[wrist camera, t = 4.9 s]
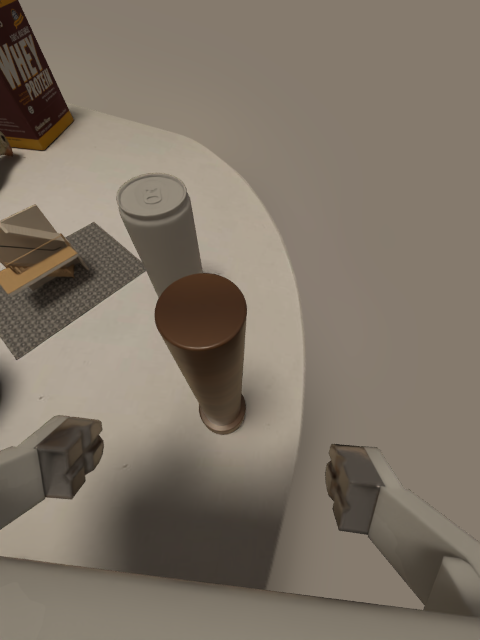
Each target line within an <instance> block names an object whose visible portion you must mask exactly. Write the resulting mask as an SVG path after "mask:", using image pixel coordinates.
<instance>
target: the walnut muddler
mask: <svg viewBox="0 0 480 640" xmlns="http://www.w3.org/2000/svg"><path fill="white" fill-rule="evenodd" d="M246 316H247V305H246V301H245V298H244V296H243V294H242V292H241V291H240V290H239V288H238V287H237V286H236V285H235V284H234V283H233V282H231V281H230V280H228V279H226V278H224V277H222V276H219V275H216V274H210V273H197V274H192V275H188V276H185V277H182V278H180V279H178V280H176V281H175V282H173V283H172V284H170V285H169V286H168V287H167V288H166V289H165V290H164V291H163V293H162V294H161V296H160V297H159V299H158V301H157V304H156V308H155V323H156V326H157V329H158V331H159V332H160V334H161V336H162V338H163V340H164V341H165V343H166V345H167V347H168V349H169V350H170V352H171V354H172V356H173V358H174V359H175V361H176V363H177V365H178V367H179V368H180V370H181V372H182V374H183V376H184V377H185V379H186V381H187V383H188V385H189V386H190V388H191V390H192V392H193V393H194V395H195V397H196V399H197V401H198V402H199V413H200V417H201V419H202V421H203V423H204V424H205V425H206V427H207V428H208V429H209V430H210V431H212V432H214V433H216V434H220V435H225V434H229V433H232V432H234V431H235V430H237V429H238V428H239V427H240V425H241V424H242V422H243V420H244V416H245V410H246V404H245V400H244V397H243V395H242V393H241V391H242V376H243V361H244V346H245V331H246Z"/></svg>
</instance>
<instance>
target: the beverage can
mask: <svg viewBox="0 0 480 640" xmlns="http://www.w3.org/2000/svg"><path fill="white" fill-rule="evenodd" d="M116 200H117V203H118V206H119V212H120V215H121V218H122V220H123V222H124V224H125V227H126V229H127V231H128V233H129V235H130V237H131V240H132V242H133V244H134V246H135V248H136V250H137V252H138V254H139V256H140V258H141V261H142V263H143V265H144V267H145V269H146V271H147V273H148V275H149V278H150V280H151V282H152V284H153V286H154V289H155V291H156V293H157V295H158V297H160V296H161V294H162V293H163V291H164V290H165V289H166V288H167V287H168V286H169V285H170V284H172V283H173V282H175V281H176V280H178V279H180V278H182V277H185V276H188V275H192V274H197V273H203V271H202V265H201V259H200V253H199V247H198V242H197V236H196V230H195V224H194V218H193V212H192V207H191V201H190V197H189V195H188V193H187V190H186V187H185V185H184V183H183V182H182V181H181V180H180V179H179V178H177V177H175V176H173V175H169V174H165V173H148V174H143V175H139V176H137V177H134V178H132V179H130V180H128V181H127V182H125V183H124V184H123V185H122V186H121V187H120V189H119V190H118V192H117V196H116Z"/></svg>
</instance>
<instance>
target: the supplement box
mask: <svg viewBox="0 0 480 640" xmlns="http://www.w3.org/2000/svg"><path fill="white" fill-rule="evenodd" d="M73 121H74V120H73V117H72V115H71V113H70V111H69V109H68V107H67V105H66V103H65V100H64V98H63V96H62V94H61V92H60V90H59V88H58V86H57V83H56V81H55V79H54V77H53V75H52V72H51V70H50V68H49V66H48V64H47V62H46V59H45V58H44V55H43V53H42V51H41V49H40V47H39V45H38V42H37V40H36V38H35V36H34V34H33V32H32V29H31V27H30V25H29V23H28V21H27V19H26V17H25V14H24V12H23V10H22V8H21V6H20V3H19V1H18V0H0V131H1V132H2V133H3V134H4V136H5V137H6V139H7V140H8V142H9V144H10V146H11V147H16V148H26V149H35V150H45V149H46V148H47V147H48V146H49V145H50V144H51V143H52V142H53V141H54V140H55V139H56V138H57V137H58V136H59V135H60V134H61V133H62V132H63V131H64V130H65V129H66V128H67V127H68V126H69V125H70V124H71V123H72V122H73Z"/></svg>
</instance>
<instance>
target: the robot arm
mask: <svg viewBox="0 0 480 640" xmlns="http://www.w3.org/2000/svg"><path fill="white" fill-rule="evenodd" d="M101 431H102V422H101V421H99V420H96V419H88V418H80V417H70V416H62V415H58V416H54V417H53V418H52V419H50V420H49V421H48V422H47V423H45V424H44V425H43V426H42V427H40V428H39V429H38V430H37V431H36V432H34V433H33V434H32V435H31V436H29V437H28V438H27V439H26V440H24V441H23V442H22V443H21V444H19V445H18V446H17V447H13V446H12V447H9V448H7V449H4V450H2V451H0V530H1V529H2V528H3V527H5V526H6V525H8V524H9V523H11V522H12V521H14V520H15V519H16V518H18V517H19V516H21V515H22V514H24V513H25V512H27V511H28V510H30V509H31V508H32V507H34V506H35V505H37V504H38V503H40V502H41V501H43V500H44V499H45V497H49V498H61V499H73V497H74V496H75V495H76V493H77V492H78V491H79V489H80V488H81V487H82V485H83V484H84V483H85V481H86V480H85V475H86V474H88V473H89V472H91V471H93V470H94V469H95V468H96V466H97V465H98V464H99V462H100V459H101V457H102V454H103V449H104V442H103V440H102V438H101V437H100V436H99V434H100V433H101ZM329 456H330V458H331V461H330V462H329V463H327V465H326V472H325V476H326V477H325V480H326V487H327V491H328V495H329V497H331V499H332V500H333V501H334V504H333V512H334V516H335V519H336V522H337V525H338V529H339V530H340V531H346V532H353V533H360V534H367V535H368V537H369V538H370V540H371V541H372V542H373V543H374V544H375V546H376V547H377V548H378V549H379V551H380V552H381V553H382V554H383V555H384V557H385V558H386V559H387V560H388V562H389V563H390V564H391V565H392V566H393V568H394V569H395V570H396V571H397V572H398V574H399V575H400V576H401V577H402V578H403V580H404V581H405V582H406V583H407V585H408V586H409V587H410V588H411V589H412V591H413V592H414V593H415V594H416V595H417V597H418V598H419V599H420V600H421V601H422V603H423V604H424V605H425V607H424V610H417V609H409V608H402V607H394V606H385V605H378V604H370V603H363V602H355V601H347V600H339V599H331V598H324V597H315V596H308V595H300V594H292V593H284V592H276V591H268V590H260V589H252V588H244V587H237V586H229V585H221V584H213V583H205V582H197V581H190V580H182V579H174V578H166V577H159V576H151V575H143V574H135V573H127V572H120V571H112V570H104V569H96V568H89V567H81V566H73V565H65V564H57V563H50V562H42V561H34V560H26V559H18V558H10V557H3V556H0V640H480V542H479V541H478V540H476V539H475V538H474V537H472V536H471V535H470V534H468V533H467V532H466V531H464V530H463V529H461V528H460V527H459V526H457V525H456V524H455V523H453V522H452V521H451V520H450V519H448V518H447V517H446V516H444V515H443V514H442V513H440V512H439V511H437V510H436V509H435V508H434V507H432V506H431V505H430V504H428V503H427V502H426V501H424V500H423V499H421V498H420V497H419V496H417V495H416V494H415V493H414V492H412V491H411V490H409V489H404V488H403V486H402V484H401V483H400V481H399V479H398V478H397V476H396V475H395V473H394V471H393V470H392V468H391V467H390V465H389V464H388V462H387V461H386V459H385V457H384V456H383V454H382V452H381V451H380V450H379V449H378V448H377V447H366V446H361V447H360V446H350V445H339V444H331V446H330V450H329Z"/></svg>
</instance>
